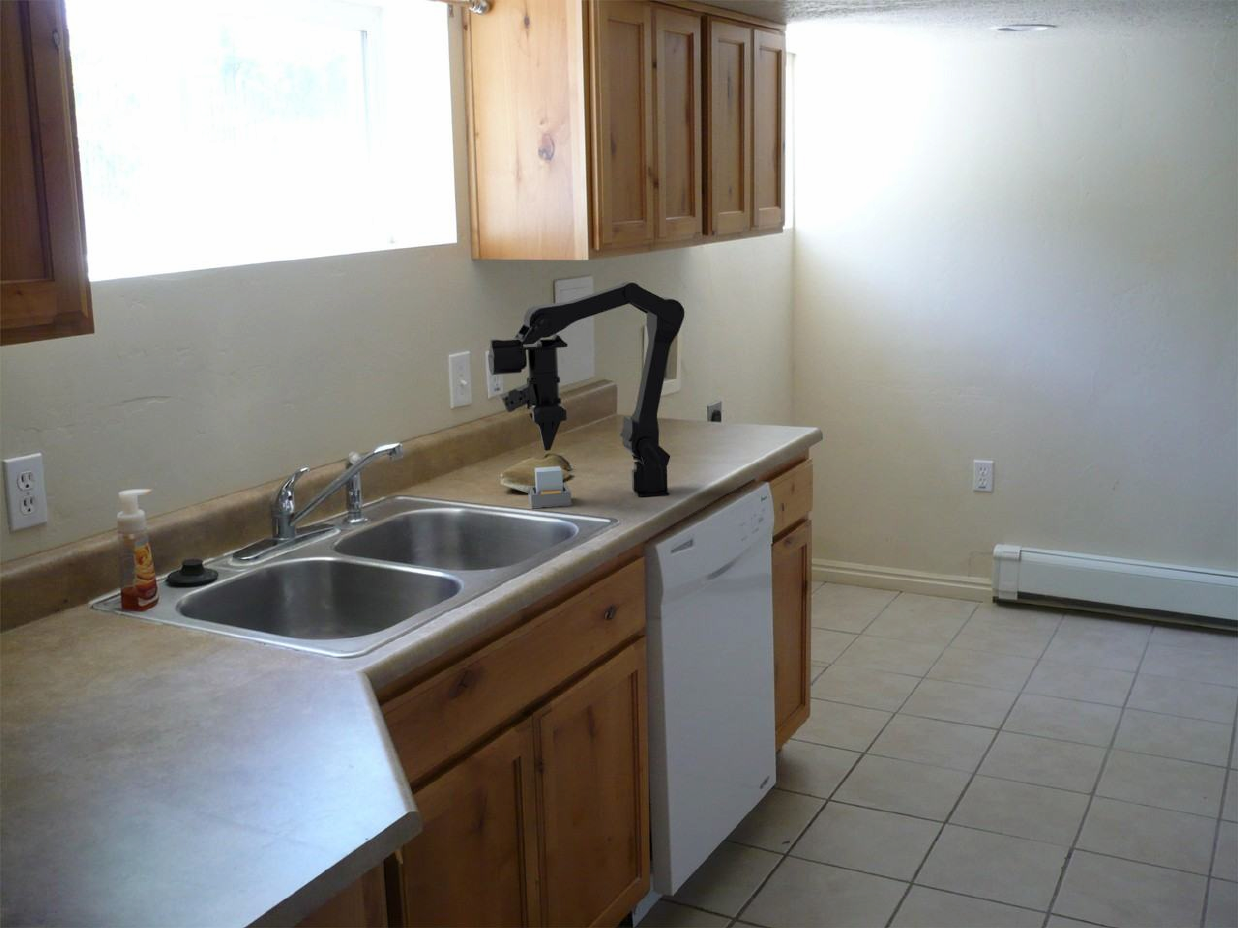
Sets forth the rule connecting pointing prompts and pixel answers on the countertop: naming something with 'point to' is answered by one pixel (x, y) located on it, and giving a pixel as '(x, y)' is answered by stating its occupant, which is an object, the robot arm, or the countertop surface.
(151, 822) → the countertop surface
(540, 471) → the pale blue upright block
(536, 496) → the rack
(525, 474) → the stone tool
